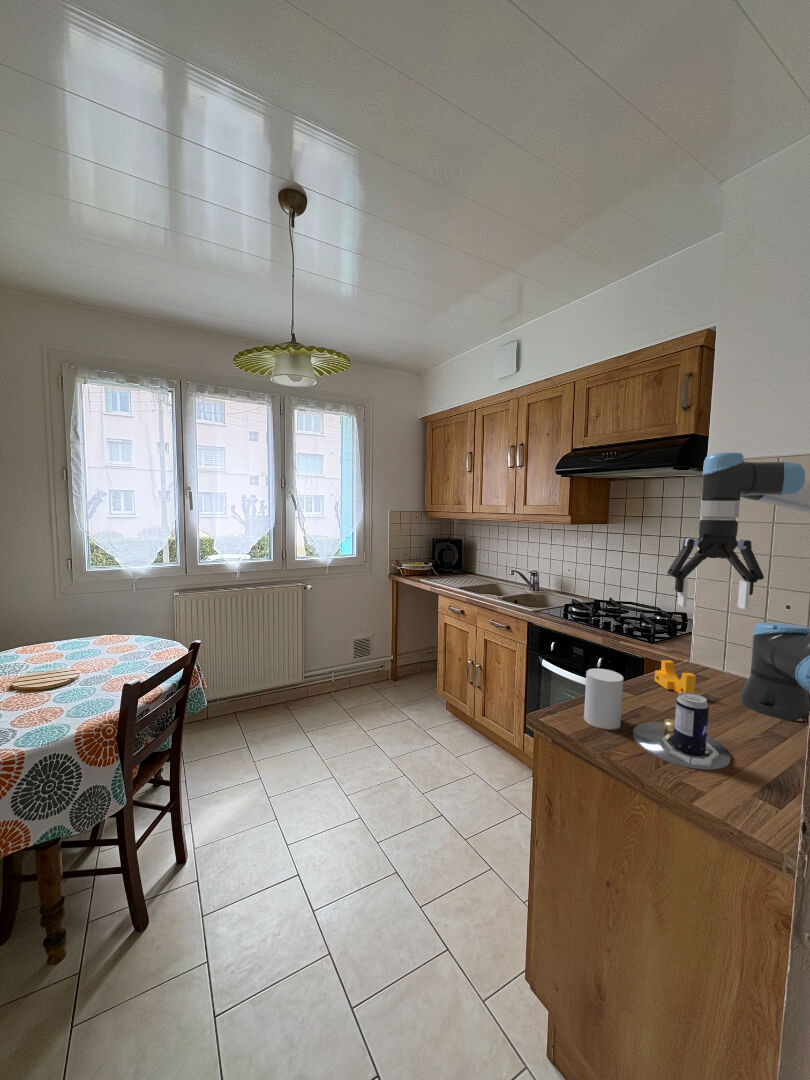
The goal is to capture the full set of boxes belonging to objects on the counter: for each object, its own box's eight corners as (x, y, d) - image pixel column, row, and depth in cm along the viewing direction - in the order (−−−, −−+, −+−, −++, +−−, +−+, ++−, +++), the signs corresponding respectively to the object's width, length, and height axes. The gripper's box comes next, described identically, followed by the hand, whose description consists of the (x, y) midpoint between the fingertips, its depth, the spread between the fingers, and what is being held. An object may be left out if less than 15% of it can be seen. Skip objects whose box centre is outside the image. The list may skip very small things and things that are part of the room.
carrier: (701, 730, 104) (702, 713, 103) (750, 776, 86) (752, 756, 86) (621, 724, 106) (622, 707, 106) (652, 768, 88) (654, 748, 88)
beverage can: (705, 763, 88) (710, 706, 87) (672, 754, 91) (676, 698, 90) (704, 750, 93) (708, 695, 92) (673, 742, 96) (676, 689, 95)
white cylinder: (625, 722, 107) (627, 674, 106) (613, 735, 101) (616, 684, 100) (591, 711, 112) (593, 666, 111) (578, 722, 106) (581, 674, 106)
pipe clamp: (654, 680, 134) (655, 660, 133) (668, 680, 134) (670, 660, 133) (678, 697, 122) (680, 675, 121) (694, 698, 122) (696, 675, 121)
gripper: (765, 519, 106) (758, 605, 108) (656, 517, 110) (650, 601, 111) (788, 520, 99) (779, 613, 101) (670, 518, 102) (664, 607, 104)
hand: (712, 607), depth 106 cm, fingers open, 13 cm apart
